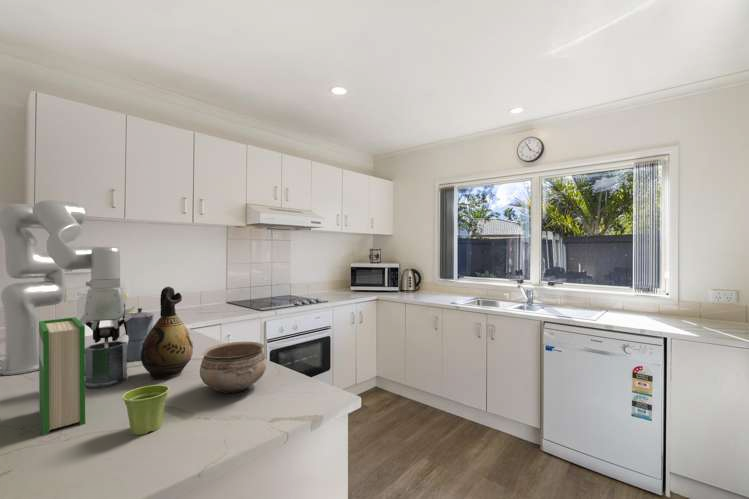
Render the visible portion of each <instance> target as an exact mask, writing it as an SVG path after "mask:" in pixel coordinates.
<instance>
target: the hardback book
mask: <svg viewBox="0 0 749 499" xmlns="http://www.w3.org/2000/svg"><path fill="white" fill-rule="evenodd" d="M85 337H86V336H85V326H84V325H83V324H82V323H81V322H80V321H79V320H78V319H77V316H75V317H66V318H57V319H47V320H42V321H39V370H38V371H39V372H38V373H39V374H38V376H39V377H38V379H39V380H38V381H39V387H38V388H39V389H38V390H39V393H38V394H39V398H38V399H39V401H38V402H39V403H38V404H39V405H38V406H39V407H38V408H39V411H38V412H39V418H40V422H41V428H42V433H43V436H47V435H50V431H51V430H54V429H58V428H62V427H65V426H70V425H72V424H76V423H79V425H80V426H82V425H86V388H85V348H86V347H85V346H86V338H85Z"/></svg>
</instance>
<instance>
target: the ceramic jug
mask: <svg viewBox="0 0 749 499" xmlns="http://www.w3.org/2000/svg"><path fill="white" fill-rule="evenodd" d="M181 294H182V293H180V292H176V293H175V289H174V288H173V287H171V286H166V287H164V288H162V290H161V292H160V299H159V301H160V315H159V316H160V318H158V320H157V321H156V323H155V324H154V325H152V329H151V330H150V332H149V334H148V335H147V337H146V339H145V341H144V343H143V347H142V350H141V360H140V361H141V364H142V366H143V368H144V369H145V370H146V372H148V373H149V376H150V379H152V380H153V381H159V380H161V381H162V380H163V381H165V380H170V379H173V378H176V377H179V376H180V375H181V374H182V372H183V371H184V369H185V367H186V366H187V365H188V364H189V362H191V359H192V356H193V351H194V343H193V340H192V337H191V335H190V332H189V330H188V329H187V327H186V326H185V324H184V323H183V321H182V320H181V318H179V316H178V314H177V313H176V307H175V306H176V305H177V304H179V303H180V302H182V298H183V296H182V295H181Z"/></svg>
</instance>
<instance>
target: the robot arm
mask: <svg viewBox="0 0 749 499" xmlns="http://www.w3.org/2000/svg"><path fill="white" fill-rule="evenodd" d="M86 219H87V212H86V209H85V208H84V207H83V206H82V205H80V204H78V203H75V202H69V201H61V200H60V201H59V200H50V199H46V200H41V201H38V202H36V203H35V204H29V203H28V204H27V203H10V204H6V205H4V206H2V208H1V209H0V232H1V234H2V237H3V239H4V255H5V256H4V257H5V268H6V269H5V271H6V273H7V276H9V277H10V278H12V279H18V280H21V279H26V280H27V279H40V278H43V280H44V281H26V282H25V281H24V282H16V283H12V284H8V285H7V286H5V287H3V289H2V291H1V293H0V298H1V303H2V307H3V312H4V326H5V327H4V328H5V329H4V332H5V334H4V335H5V338H4V340H5V341H4V342H5V346H4V347H5V358H4V359H2V360H0V375H2V376H11V375H12V376H13V375H20V374H26V373H31V372H36V371H39V321H43V319H42V316H41V315H40V314H39V313H38V312H37V311H36V310H35V308H41V307H49V306H57V305H59V304H61V303H62V302H63V301H64V300H65V298H66V291H67V290H66V288H67V287H66V273H65V271H66V270H67V271H73V270H90V280H89V281H85V286H86V287H89V286H90V288H91V290H88V289H87V290H88V292H87V296H86V302H85V313H84V315H83V316H82V317H81V319H80V320H79V321H80V322H81V323H83V324H85V325H87V326H88V327H89V328H91V330H93V335H92V340H93V341H94V343H95V344H98V343H99V342H100V341H101V340H102V338H99V324H100V321H104V320H111V321H112V324H113V326H114V327H113V329H112V337H111V342H114V341H116V340H117V339H118V338H119V337H120V336H121V335H120V328H121V326H123V325H124V323H125V322H126V321H127V320H129V319H131V318H132V316H131V315H130V313H131V312H128V311H127V310H128V309H127V307H126V301H125V296H124V293H125V291H124V288H123V287H121V250H120V248H118V247H115V246H84V245H83V246H82V245H81V246H79V245H77V246H76V245H74V246H71V245H68V244H67V243H70V242H72V241H74V240H76V239H77V238H79V237H80V236H81V234H82V232H83V229H82V225H83V224H84V223H85V222H86ZM29 229H44V230H45V231H46V232H47V233H48V234H49V235H48V237H47V240H46V251H47V252H40V251H39V248H38V247H39V246H38V244H39V243H38V239H37V237H36V236H35V235H34V234H33V233H32V231H30V230H29ZM123 291H124V292H123ZM124 316H125V318H124V319H123V318H122V317H124ZM92 321H93V322H92Z"/></svg>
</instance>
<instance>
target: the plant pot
mask: <svg viewBox="0 0 749 499" xmlns="http://www.w3.org/2000/svg"><path fill="white" fill-rule="evenodd" d="M169 391H170V386H168V385H166V384H165V385H164V384H153V385H147V386H142V387H141V386H140V387H138V388H134V389H131V390H129V391H127V392H125V393H124V394H122V396H121V399H122V401H124V404H125V407H126V410H127V417H128V421H129V422H128V423H129V428H130V432H131V433H132V434H133V435H145V434H148V433H149V432H154V431H156V430H158V429H159V428H160V427H162V423H163V416H164V410H165V406H166V405H165V404H166V398H167V397H168V393H169Z"/></svg>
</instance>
